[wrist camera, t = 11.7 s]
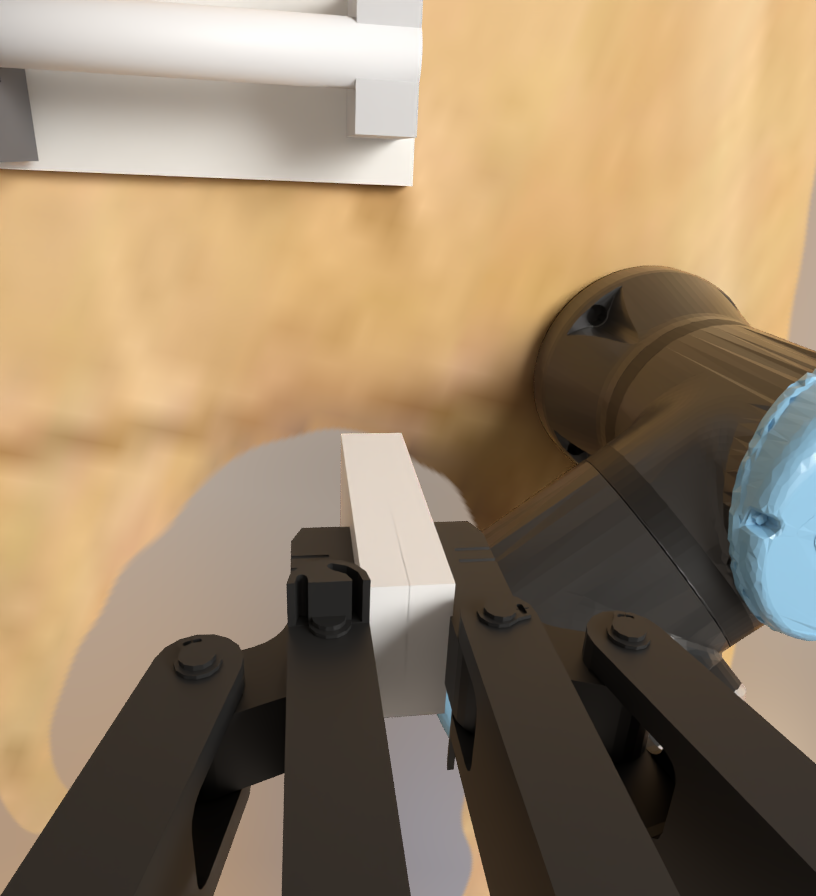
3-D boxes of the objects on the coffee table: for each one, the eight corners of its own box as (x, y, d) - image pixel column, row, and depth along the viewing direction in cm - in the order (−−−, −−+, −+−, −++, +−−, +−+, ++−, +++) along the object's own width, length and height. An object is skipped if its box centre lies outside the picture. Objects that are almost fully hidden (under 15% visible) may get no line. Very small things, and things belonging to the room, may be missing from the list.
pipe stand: (419, -49, 38) (453, -105, 29) (409, 185, 42) (436, 193, 34) (-192, -106, 33) (-356, -192, 25) (-128, 162, 38) (-248, 165, 30)
